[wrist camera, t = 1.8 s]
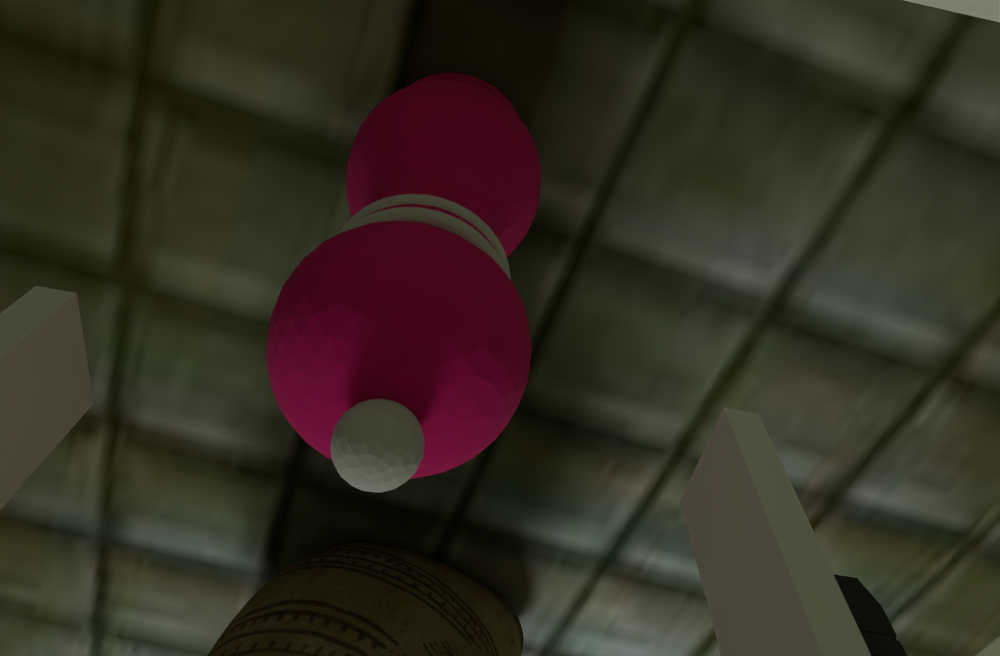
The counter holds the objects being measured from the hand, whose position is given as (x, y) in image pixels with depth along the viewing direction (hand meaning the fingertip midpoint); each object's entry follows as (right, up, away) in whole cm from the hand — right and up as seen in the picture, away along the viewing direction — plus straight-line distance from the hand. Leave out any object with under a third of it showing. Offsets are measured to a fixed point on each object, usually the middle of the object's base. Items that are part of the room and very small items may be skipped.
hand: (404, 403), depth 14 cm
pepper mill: (0, +9, +15) cm, 18 cm away
